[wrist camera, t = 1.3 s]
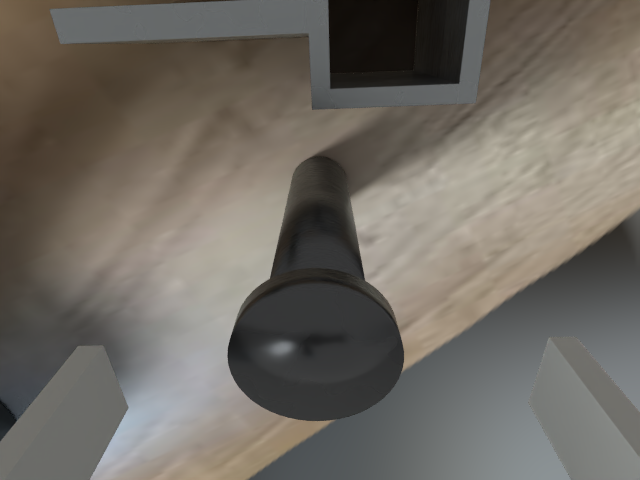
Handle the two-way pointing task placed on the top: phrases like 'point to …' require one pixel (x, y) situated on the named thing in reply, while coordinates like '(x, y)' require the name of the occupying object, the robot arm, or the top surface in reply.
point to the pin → (316, 312)
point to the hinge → (309, 21)
